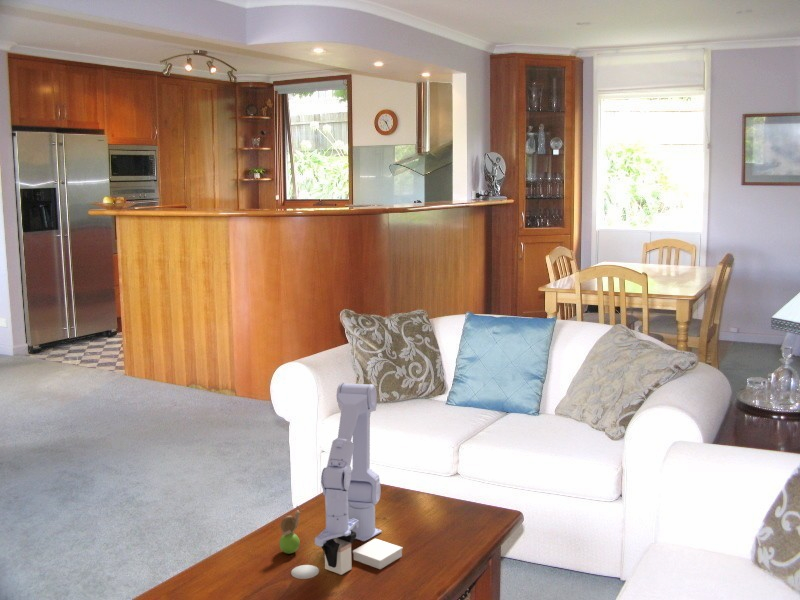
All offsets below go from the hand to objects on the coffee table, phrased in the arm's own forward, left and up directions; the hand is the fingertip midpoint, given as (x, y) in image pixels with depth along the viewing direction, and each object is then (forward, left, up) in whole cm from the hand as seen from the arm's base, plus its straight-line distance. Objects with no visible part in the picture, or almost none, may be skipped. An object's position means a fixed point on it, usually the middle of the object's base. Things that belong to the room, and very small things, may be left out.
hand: (338, 562), depth 213 cm
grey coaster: (-6, -6, -2) cm, 9 cm away
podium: (+4, +11, -2) cm, 12 cm away
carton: (0, 0, -2) cm, 2 cm away
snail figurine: (-17, 0, -2) cm, 17 cm away
